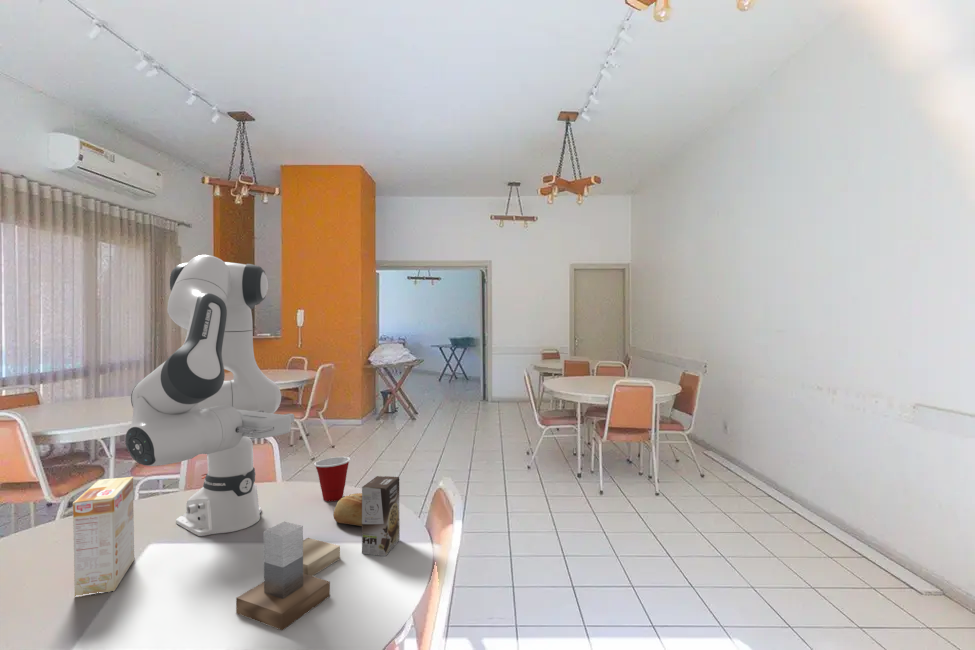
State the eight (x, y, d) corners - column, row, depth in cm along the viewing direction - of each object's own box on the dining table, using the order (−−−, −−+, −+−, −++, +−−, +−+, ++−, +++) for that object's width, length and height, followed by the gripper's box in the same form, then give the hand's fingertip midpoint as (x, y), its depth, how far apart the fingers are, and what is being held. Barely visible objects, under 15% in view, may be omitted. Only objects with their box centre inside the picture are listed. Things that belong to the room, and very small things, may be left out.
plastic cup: (331, 490, 161) (330, 453, 161) (357, 495, 157) (357, 457, 157) (306, 501, 151) (306, 462, 151) (334, 507, 147) (333, 466, 147)
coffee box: (386, 556, 116) (386, 488, 116) (360, 554, 118) (360, 486, 117) (400, 539, 125) (400, 476, 125) (376, 537, 127) (376, 474, 126)
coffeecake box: (98, 564, 113) (97, 479, 113) (136, 558, 116) (135, 475, 115) (72, 599, 99) (70, 502, 99) (115, 591, 102) (113, 497, 101)
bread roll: (373, 535, 128) (373, 504, 128) (324, 527, 133) (324, 498, 133) (391, 520, 137) (391, 492, 137) (345, 514, 142) (344, 486, 142)
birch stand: (274, 569, 111) (274, 555, 111) (307, 550, 120) (307, 537, 120) (307, 579, 106) (307, 565, 106) (340, 558, 115) (340, 545, 115)
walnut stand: (236, 613, 94) (236, 597, 94) (286, 582, 105) (286, 568, 105) (282, 630, 89) (282, 613, 89) (329, 596, 100) (329, 581, 100)
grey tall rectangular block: (264, 592, 96) (263, 531, 96) (284, 580, 100) (284, 521, 100) (283, 599, 94) (282, 536, 93) (303, 586, 98) (302, 525, 98)
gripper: (257, 416, 95) (311, 405, 108) (188, 408, 104) (245, 398, 117) (257, 449, 95) (311, 434, 108) (188, 438, 104) (246, 425, 117)
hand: (276, 415), depth 112 cm, fingers open, 8 cm apart
